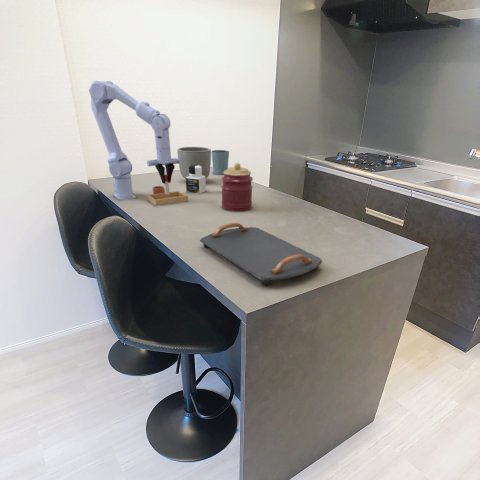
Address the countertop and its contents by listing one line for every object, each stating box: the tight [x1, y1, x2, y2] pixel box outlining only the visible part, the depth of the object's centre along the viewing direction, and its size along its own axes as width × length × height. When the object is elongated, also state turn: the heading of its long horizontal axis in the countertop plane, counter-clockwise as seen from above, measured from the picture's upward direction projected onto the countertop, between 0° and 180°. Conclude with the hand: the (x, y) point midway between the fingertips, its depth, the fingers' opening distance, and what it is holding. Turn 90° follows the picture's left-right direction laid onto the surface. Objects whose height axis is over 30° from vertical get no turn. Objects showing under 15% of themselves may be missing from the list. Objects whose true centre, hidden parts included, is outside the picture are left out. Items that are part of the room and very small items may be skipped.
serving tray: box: [199, 222, 323, 287], centre depth 107 cm, size 39×23×6 cm, turn 35°
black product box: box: [185, 165, 207, 194], centre depth 169 cm, size 7×7×12 cm
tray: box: [147, 190, 189, 206], centre depth 157 cm, size 10×15×2 cm, turn 122°
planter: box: [176, 146, 212, 180], centre depth 185 cm, size 17×17×16 cm
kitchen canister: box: [221, 162, 254, 212], centre depth 147 cm, size 13×13×18 cm
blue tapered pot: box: [211, 149, 230, 176], centre depth 206 cm, size 10×10×12 cm
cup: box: [152, 185, 165, 194], centre depth 162 cm, size 5×5×4 cm
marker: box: [164, 174, 170, 195], centre depth 153 cm, size 2×2×8 cm
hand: (166, 182), depth 153 cm, fingers closed on marker, 2 cm apart
